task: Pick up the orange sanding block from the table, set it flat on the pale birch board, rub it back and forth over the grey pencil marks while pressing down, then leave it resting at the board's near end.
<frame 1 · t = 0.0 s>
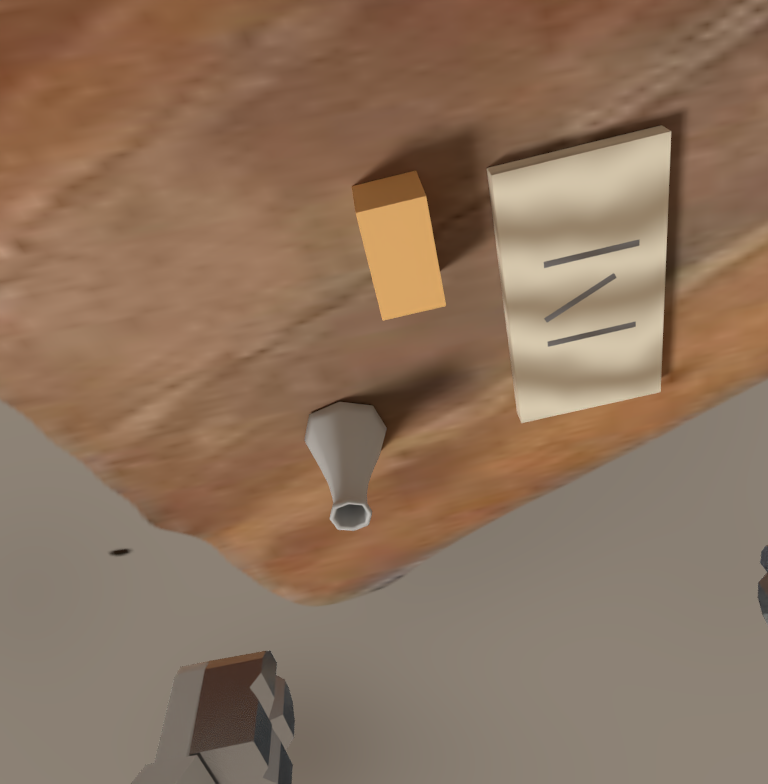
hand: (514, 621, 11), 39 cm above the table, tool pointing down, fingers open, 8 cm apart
sanding block: (395, 231, 48), on the table
flask: (345, 430, 59), on the table
birch board: (579, 287, 52), on the table
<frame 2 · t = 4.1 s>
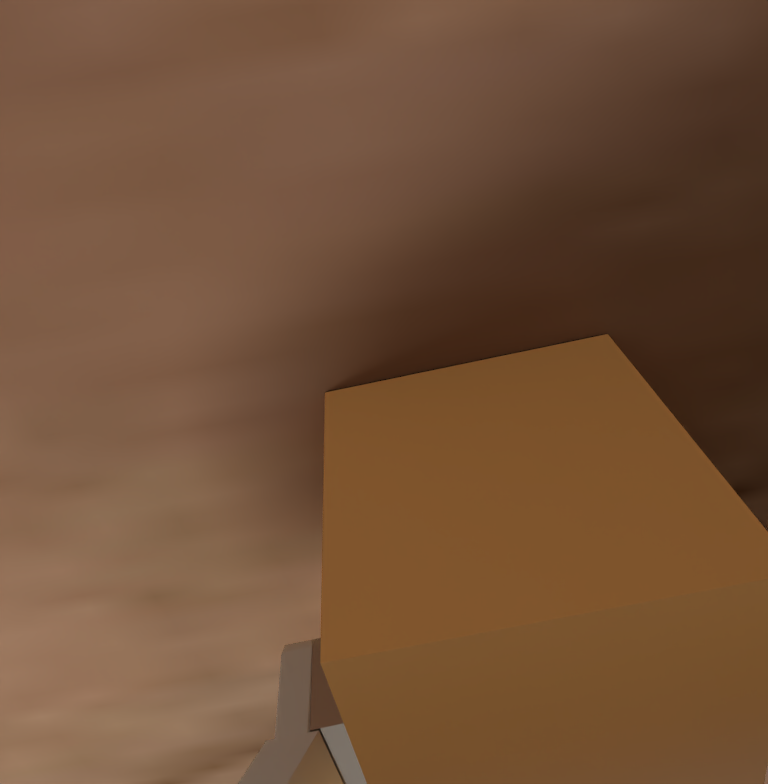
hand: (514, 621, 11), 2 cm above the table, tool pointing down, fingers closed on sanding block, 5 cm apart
sanding block: (493, 547, 13), on the table, touching gripper
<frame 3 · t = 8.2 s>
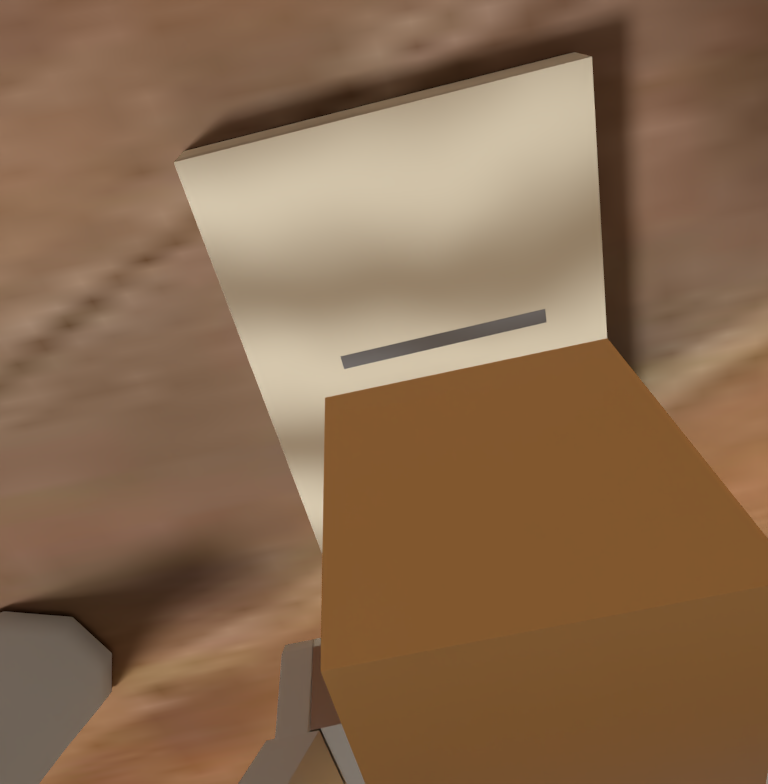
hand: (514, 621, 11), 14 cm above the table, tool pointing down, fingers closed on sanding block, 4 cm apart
sanding block: (494, 550, 13), point 13 cm above the table, touching gripper
flask: (38, 655, 32), on the table
birch board: (440, 404, 26), on the table
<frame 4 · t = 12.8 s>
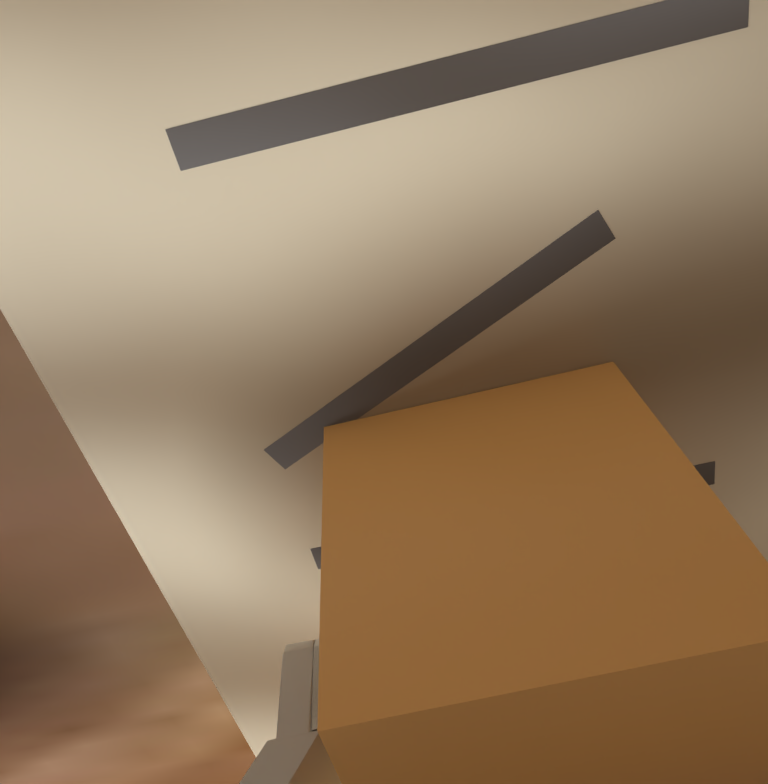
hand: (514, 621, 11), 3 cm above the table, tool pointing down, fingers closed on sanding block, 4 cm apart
sanding block: (501, 576, 12), point 2 cm above the table, touching gripper
birch board: (445, 303, 11), on the table
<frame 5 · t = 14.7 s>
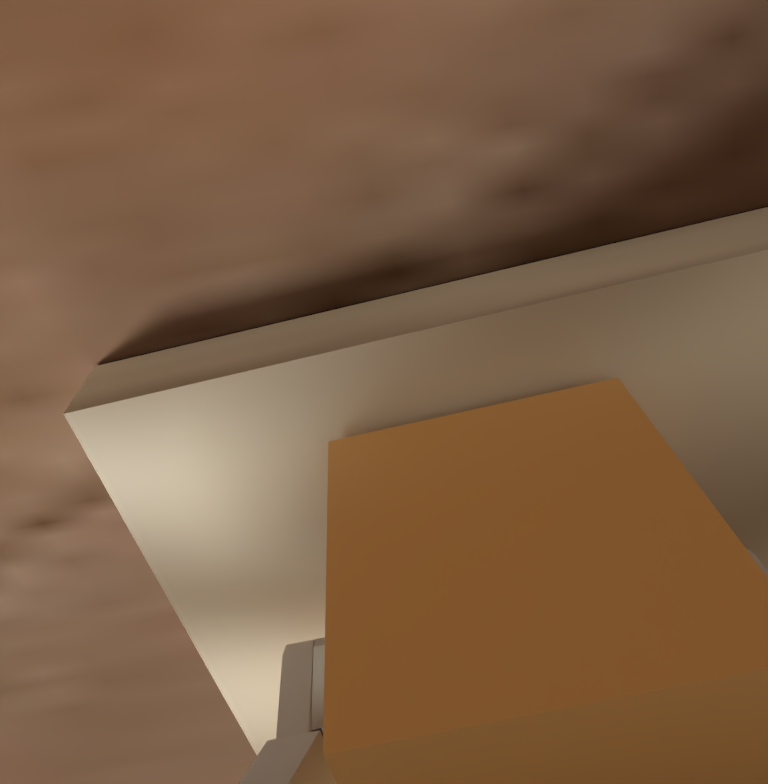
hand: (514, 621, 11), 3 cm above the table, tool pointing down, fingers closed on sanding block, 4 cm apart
sanding block: (504, 590, 12), point 2 cm above the table, touching gripper
birch board: (520, 691, 17), on the table
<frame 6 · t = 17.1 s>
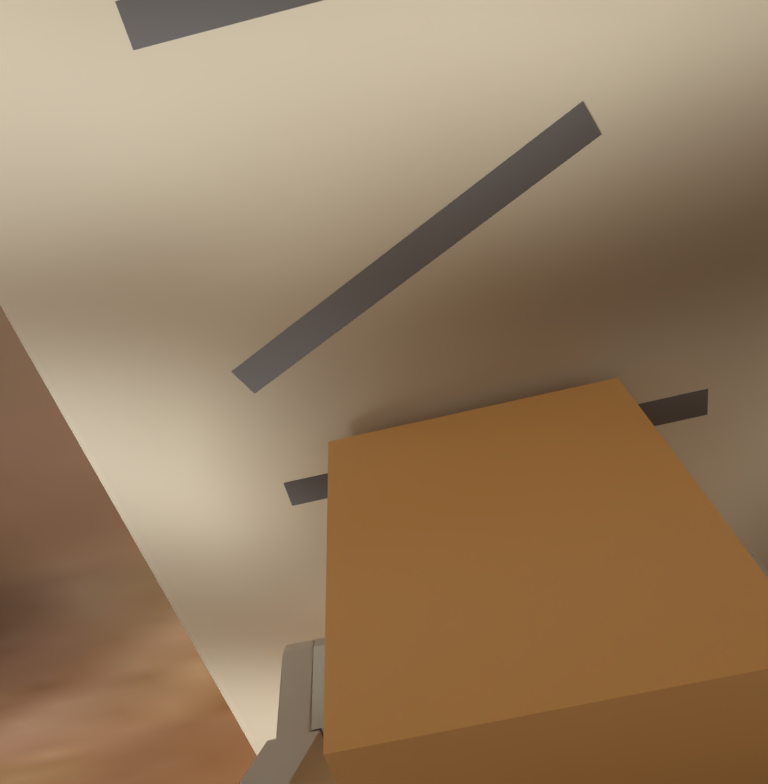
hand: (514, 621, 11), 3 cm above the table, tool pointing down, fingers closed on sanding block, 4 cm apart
sanding block: (504, 590, 12), point 2 cm above the table, touching gripper
birch board: (425, 221, 11), on the table
when the fingers open (3 cm above the table, at t = 20.3 s): sanding block stays where it is, resting on birch board.
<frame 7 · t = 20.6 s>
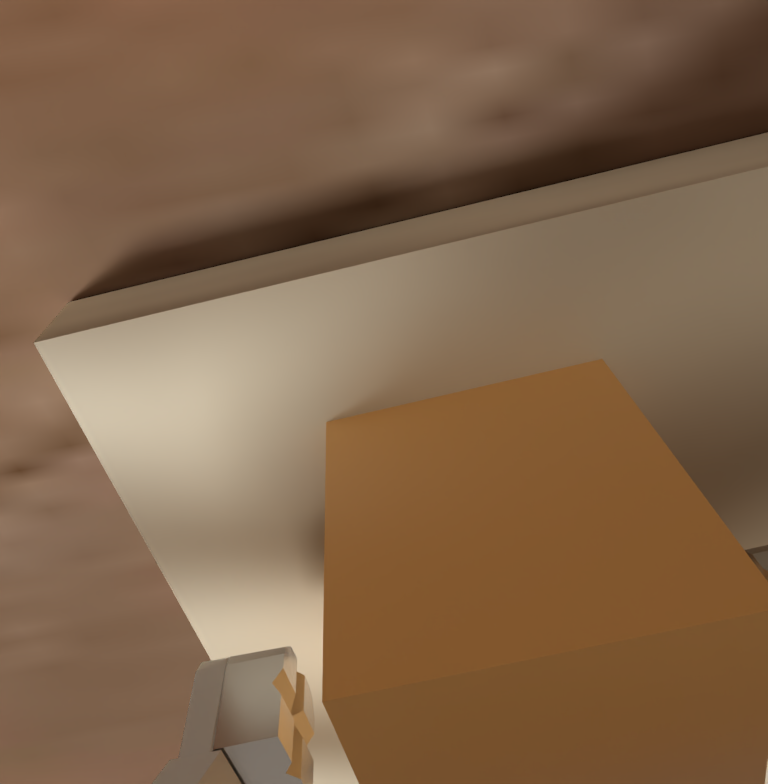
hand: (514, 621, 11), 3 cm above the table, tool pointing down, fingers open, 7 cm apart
sanding block: (496, 566, 13), point 2 cm above the table, touching birch board
birch board: (508, 651, 16), on the table
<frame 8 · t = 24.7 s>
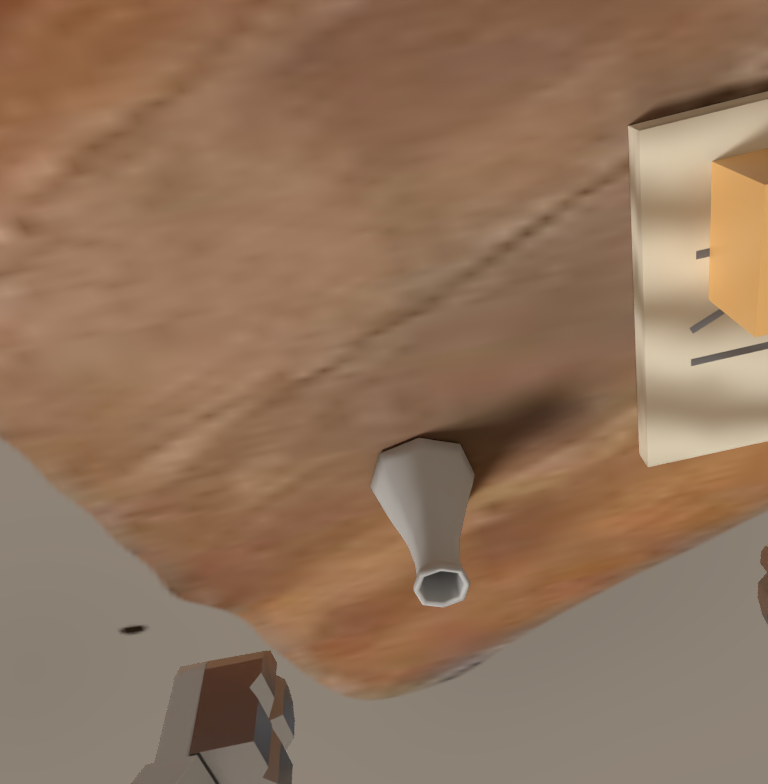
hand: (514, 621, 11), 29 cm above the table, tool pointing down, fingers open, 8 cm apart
sanding block: (751, 224, 37), point 2 cm above the table, touching birch board
flask: (421, 476, 47), on the table
birch board: (733, 289, 41), on the table
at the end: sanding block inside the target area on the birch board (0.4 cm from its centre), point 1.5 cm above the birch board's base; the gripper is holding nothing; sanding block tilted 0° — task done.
